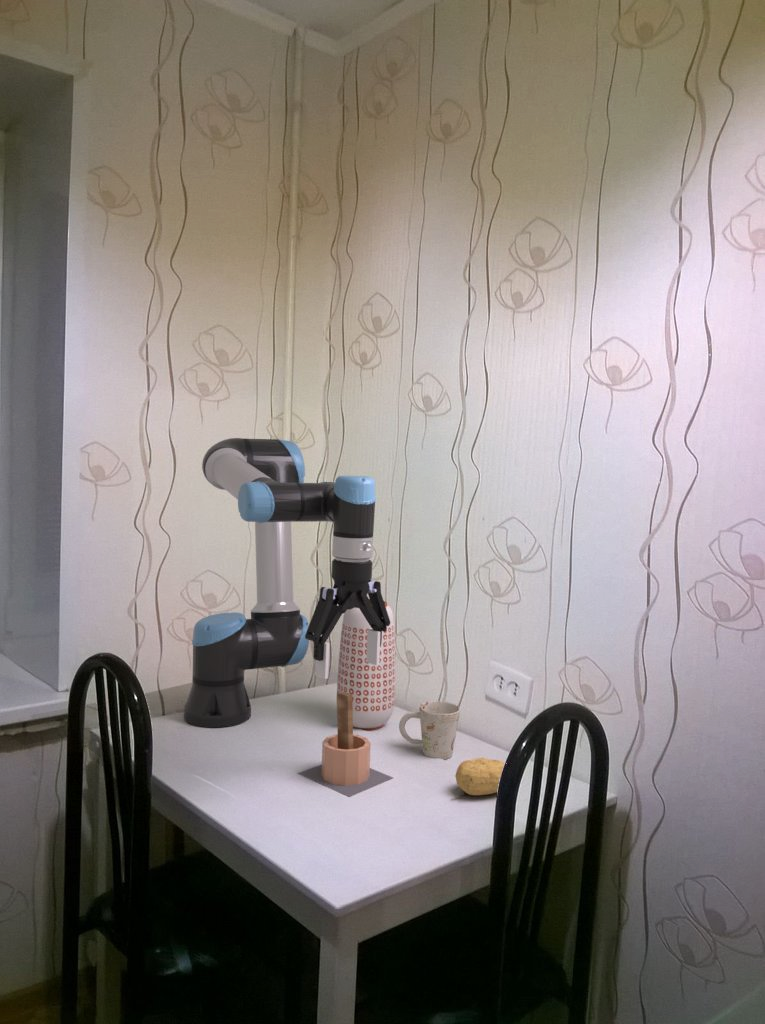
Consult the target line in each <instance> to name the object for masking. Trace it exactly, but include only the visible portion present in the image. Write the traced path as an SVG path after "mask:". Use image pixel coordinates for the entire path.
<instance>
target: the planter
mask: <svg viewBox="0 0 765 1024" xmlns="http://www.w3.org/2000/svg"><path fill="white" fill-rule="evenodd" d="M369 600H370V598H369ZM383 601H384V600H383ZM370 602H371V601H370ZM384 604H385V607H386V610H387V613H388V616H389V619H390V625H389V626H387V630H386V631H385V632H384V631H382V640H381V641H382V643H381V646H380V656H379V665H374V664H371V663H367V662H366V661H367V637H368V630H369V629H372V630H373V628H371V626H370V625H369V623H368V622H367V620H366V618H365V617H364V615H363V614H362V612H361V611H360V609H359V608H353V609H350V610H346V612H345V613H343V618H342V624H341V625H342V626H341V633H340V643H339V651H338V652H339V654H338V655H339V656H338V668H337V669H338V671H337V685H336V686H337V687H336V694H337V693H338V692H341V691H342V692H345V693H349V694H352V704H353V729H360V730H363V731H374V730H378V729H380V728H383V727H384V725H385V724H386V723H387V722H388V721H389V720H390V719H391V717H392V715H393V713H394V709H395V704H396V640H395V638H396V637H395V621H394V619H395V618H394V613H393V610H392V608H391V606H389V604H388V603H387V601H384ZM371 606H372V605H371Z"/></svg>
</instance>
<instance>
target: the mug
mask: <svg viewBox="0 0 765 1024" xmlns="http://www.w3.org/2000/svg"><path fill="white" fill-rule="evenodd" d="M418 708H419V709H418V710H419V711H408V712H406V713H405V714H403V716H402V717H401V719H400V721H399V724H398V728H399V732H400V735H401V737H402V738H404V739H405V740H406V741H407V742H409V743H411V744H414V745H416V744H417V745H422V753H423V755H424V756H427V757H428V758H431V759H439V760H440V759H442V760H448V759H451V758H453V757H452V756H453V753H454V748H455V743H456V742H455V741H456V736H457V730H458V724H459V719H460V713H461V709H460V706H458V705H457V704H456V703H453V702H448V701H444V700H430V701H425V702H423V703H421V704H420V705H419V707H418ZM413 718H414V719H419V720H420V732H421V733H420V734H421V739H417V738H416V739H415V738H411V737H410V736H409V734H408V732H407V730H406V724H407V722H408V721H409V720H410V719H413Z"/></svg>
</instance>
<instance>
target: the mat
mask: <svg viewBox="0 0 765 1024" xmlns="http://www.w3.org/2000/svg"><path fill="white" fill-rule="evenodd" d="M297 775H300V776H302V777H304V778H307V779H309V780H311V781H312V782H315V783H318V784H319V785H322V786H324V787H326V788H328V789H331V790H333V791H335V792H337V793H339V794H341V795H343V796H346V797H348V798H351V797H353V796H355V795H357V794H360V793H362V792H365V791H367V790H369V789H372V788H374V787H376V786H379V785H381V784H383V783H385V782H389V781H391V780H392V779H394V777H393V776H390V775H388V774H386V773H383V772H380V771H378V770H376V769H373V768H371V767H370V775H369V777H368V779H367V781H365V782H363V783H360V784H358V785H348V786H343V785H336V784H332V783H329V782H327V781H325V780H324V779H323V777H322V763H321V764H319V765H315V766H313V767H310V768H308V769H305V770H302V771H300V772H298V773H297Z"/></svg>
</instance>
